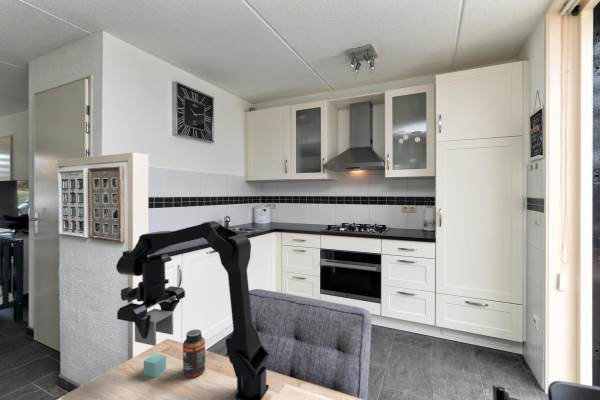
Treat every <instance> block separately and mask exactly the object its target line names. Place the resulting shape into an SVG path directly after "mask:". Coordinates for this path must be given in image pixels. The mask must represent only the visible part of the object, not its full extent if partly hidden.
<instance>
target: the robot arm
mask: <svg viewBox="0 0 600 400" xmlns="http://www.w3.org/2000/svg"><path fill="white" fill-rule="evenodd" d="M199 239H205V240H206V241H207V243H208V245H209V246H210V248H211V249H212V250H213V251H215V252H216V253H218V255H219V259H220V263H221V265H222V267H223V269H224V270H225V271H226V273H227V279H228V281H227V282H228V290H229V299H230V309H231V318H232V319H231V320H232V333H231V334H229V336H228V337H226V338H225V346H226V355H225V356H226V357H227V356H228V359H229V362H230V364H231V365H232V368H233V371H234V373H235V377H236V389H237V393H236V394H235V395H234V398H235V399H237V400H262V399H263V398H264V397H265V395H266V394H267V392H268V390H269V389H270V388H269V387H270V385H269V384H267V367H266V366H265V364H266V363H267V362H268V360H269V357H270V353H269V352H268V351H267V349H266V348H265V347H264V346H263V345H262V343H261V341H260V337H259V332H258V331H257V329H256V327H255V326H254V325H253V319H252V309H251V307H252V306H251V300H250V289H249V279H248V278H249V277H248V266H249V264H250V260H251V251H252V243H251V240H250V239H249V238H248V237H247V236H246V235H243V234H239V233H238V232H236V231H235V230H233V229H231V228H228V227H226V226H224V225H222V224H221V223H219V222H218V221H216V220H210V221H205V222H202V223H200V224H197V225H193V226H190V227H189V226H188V227H185V228H181V229H175V230H173V231H172V230H159V231H155V232H148V233H143V234H141V235H140V236H138V239H137V240H138V241H137V242H136V244H135V246H134V248H133V249H132V250H130V249H128V250H125V251H123V252H122V255H121V257H120V258H119V259H118V261H117V263H116V264H115V269H116V271H117V272H118V274H120V275H124V276H134V277H141V276H142V277H141V278H142V280H141V281H139V282H138V283H137V287H134V288H132V287H131V286H128V287H125V288H122V289H120V298H121V301H122V302H123V301H127V302H128V304H126V305H123V306H121V307H119V309H118V310H117V312H116V313H117V314H116V315H117V316H116V318H117V320H120V321H123V322H124V321H126V322H129V323H134V325H135V324H136V326H137V328H138V330H139V333H140V335H141V337H142V338H143V339H146V337H147V334H148V329H149V324H150V319H151V315H147V312H148V310H149V309H151V308H152V307H155V306H156V305H158V306H159V307H160V310H166V311H172V312H173V313H174V311H175V309H176V308H177V305H178V304H179V303H180V300H182V299H183V298H185V297H186V291H185V289H184V288H183V287H179V286H173V285H171V286H168V287H166V285H167V284H169V281H170V280H169V279H168V278H166V263H168V262H171V261H172V260H173V258H172V257H171V256H170V255H168V254H167V253H166V252H165V251H166V250H168V249H171V248H173V247H174V246H176V245H179V244H182V243H183V244H184V243H186V242H191V241H197V240H199ZM160 252H163V253H160ZM157 253H159V254H157ZM149 255H150V256H149ZM132 301H137V302H139V303H134V302H133V303H132ZM141 302H142V303H141Z"/></svg>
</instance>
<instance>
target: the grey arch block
mask: <svg viewBox="0 0 600 400" xmlns="http://www.w3.org/2000/svg"><path fill="white" fill-rule="evenodd" d="M147 315H151V319H150V324H149V329H148V334H147V337H146V339H143V338H142V337H141V335H140V333H139V330H138V328H137V326H136V324H135V323H134V342H135V343H141V344H145V345H148V346H156V345H157V333H161V334H165V335H171V336H172V335H174V311H173V312H172V311H166V310H161V308H160V309H159V308H153V309H150V310H149V311H148V310H147Z"/></svg>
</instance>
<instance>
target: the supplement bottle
mask: <svg viewBox="0 0 600 400" xmlns="http://www.w3.org/2000/svg"><path fill="white" fill-rule="evenodd" d="M185 338H186V339H185V340H184V341H183V343H182V366H183V367H182V371H183V375H184V376H185V377H187V378H195V377H199V376H201V375H202V374H203V373H204V372H205V371H206V340H205V338H204V337H203V336H202V331H201V329H195V328H194V329H191V330H188V331H187V332H186V337H185Z"/></svg>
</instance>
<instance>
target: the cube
mask: <svg viewBox="0 0 600 400" xmlns="http://www.w3.org/2000/svg"><path fill="white" fill-rule="evenodd" d="M166 370H167V355H166V354H165V355H164V354H162V353H156V352H155V353H153V354H151V355H150V356H149V357H147V358H146V359H144V360H143V375H144V376H148V377H151V378H154V379H155V378H157V377H158V376H159V375H161V374H162V373H163V372H165V371H166Z"/></svg>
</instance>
